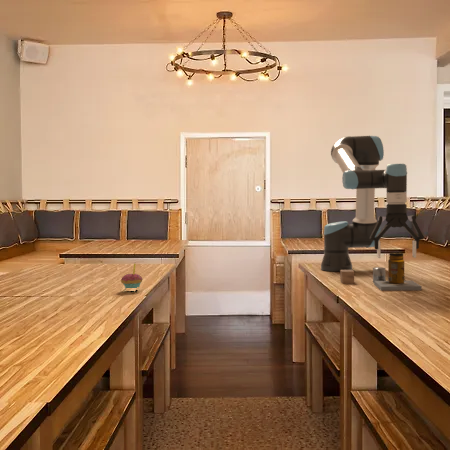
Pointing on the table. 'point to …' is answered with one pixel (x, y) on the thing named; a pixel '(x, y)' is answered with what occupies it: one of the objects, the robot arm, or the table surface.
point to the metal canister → (378, 274)
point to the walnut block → (347, 276)
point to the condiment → (395, 269)
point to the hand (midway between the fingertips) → (396, 257)
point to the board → (398, 286)
